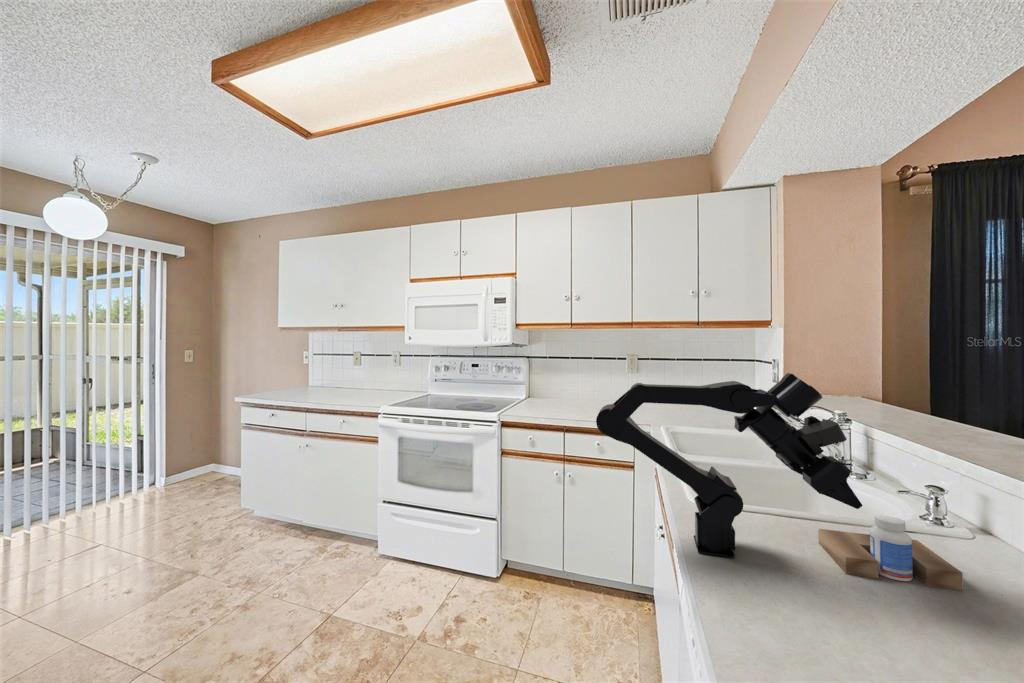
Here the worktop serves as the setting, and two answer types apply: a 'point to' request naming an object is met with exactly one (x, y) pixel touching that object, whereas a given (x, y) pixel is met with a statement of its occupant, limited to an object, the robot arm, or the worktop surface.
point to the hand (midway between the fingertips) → (846, 496)
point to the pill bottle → (891, 547)
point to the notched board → (858, 560)
